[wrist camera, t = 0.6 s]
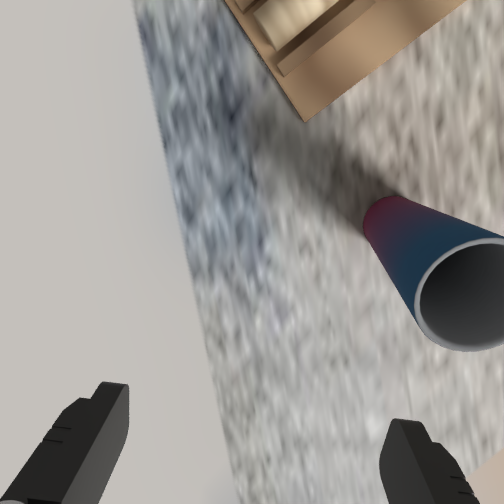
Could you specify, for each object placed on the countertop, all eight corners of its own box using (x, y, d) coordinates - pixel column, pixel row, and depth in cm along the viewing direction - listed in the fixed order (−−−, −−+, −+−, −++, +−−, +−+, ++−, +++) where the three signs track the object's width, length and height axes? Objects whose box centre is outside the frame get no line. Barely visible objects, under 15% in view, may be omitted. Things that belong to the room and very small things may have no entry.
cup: (338, 220, 33) (388, 294, 19) (399, 169, 32) (504, 210, 18) (382, 270, 35) (459, 372, 21) (443, 225, 33) (572, 302, 19)
